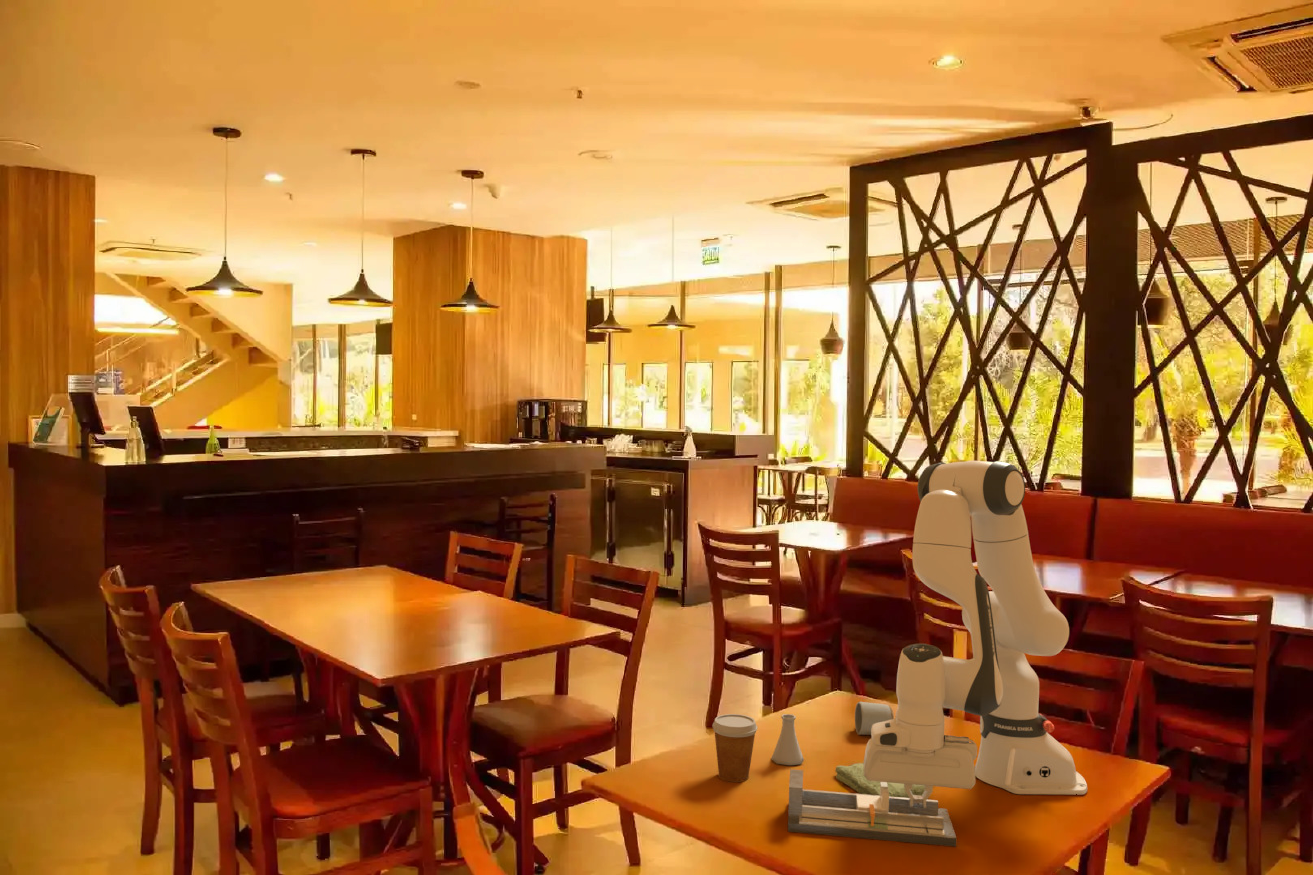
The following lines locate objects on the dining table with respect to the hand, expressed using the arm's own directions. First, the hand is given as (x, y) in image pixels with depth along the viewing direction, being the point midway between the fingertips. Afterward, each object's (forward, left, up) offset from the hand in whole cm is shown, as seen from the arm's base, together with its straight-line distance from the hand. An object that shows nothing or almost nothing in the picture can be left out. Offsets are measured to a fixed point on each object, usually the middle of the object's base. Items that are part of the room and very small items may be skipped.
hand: (917, 806), depth 180 cm
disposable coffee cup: (+36, -18, -4) cm, 40 cm away
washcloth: (+6, -19, -5) cm, 20 cm away
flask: (+25, -30, -4) cm, 39 cm away
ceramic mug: (+5, -53, -4) cm, 54 cm away
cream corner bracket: (+8, +2, -2) cm, 9 cm away
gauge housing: (+9, 0, -4) cm, 10 cm away
